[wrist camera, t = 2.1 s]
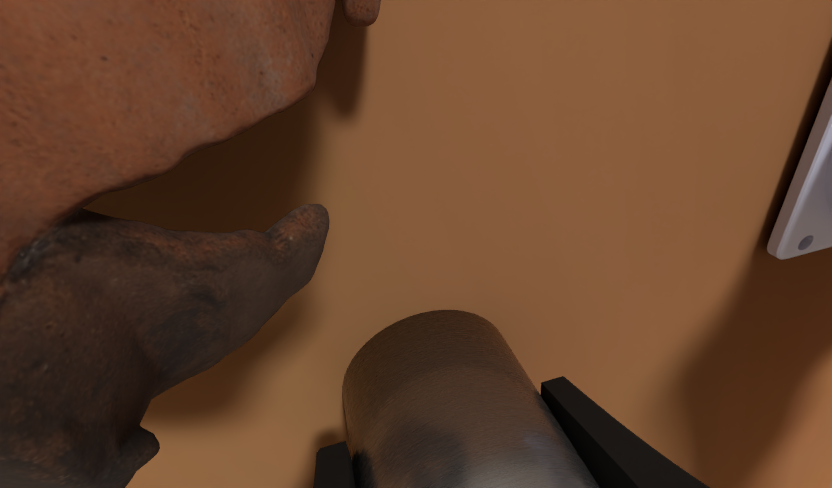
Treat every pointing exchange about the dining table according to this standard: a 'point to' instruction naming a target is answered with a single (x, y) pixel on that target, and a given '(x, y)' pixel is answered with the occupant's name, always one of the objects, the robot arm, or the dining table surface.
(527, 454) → the grey cylinder
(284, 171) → the dining table surface
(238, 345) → the pottery mug
